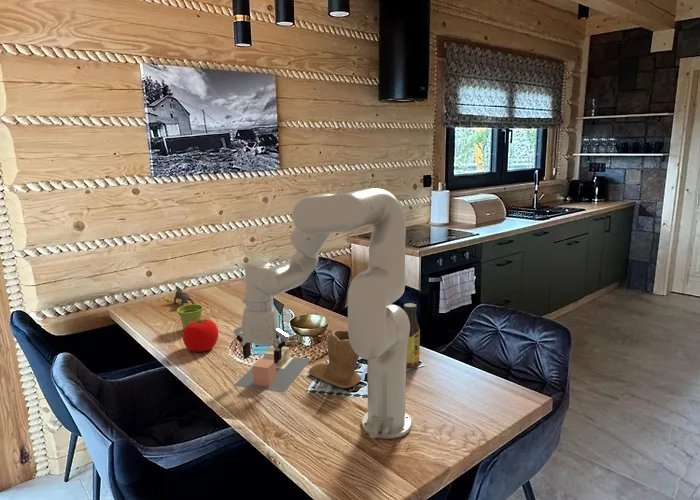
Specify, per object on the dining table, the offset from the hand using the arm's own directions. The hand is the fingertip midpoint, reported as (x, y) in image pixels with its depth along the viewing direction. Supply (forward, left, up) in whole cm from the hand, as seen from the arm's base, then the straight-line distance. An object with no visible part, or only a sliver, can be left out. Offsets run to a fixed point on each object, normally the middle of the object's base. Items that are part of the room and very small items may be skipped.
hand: (262, 359), depth 146 cm
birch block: (+13, +1, -7) cm, 15 cm away
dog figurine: (+56, +66, -8) cm, 86 cm away
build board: (+6, -1, -8) cm, 10 cm away
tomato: (+18, +32, -8) cm, 37 cm away
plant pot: (+32, +45, -8) cm, 56 cm away
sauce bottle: (+24, -40, -8) cm, 47 cm away
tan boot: (+9, -21, -8) cm, 24 cm away
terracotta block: (0, -1, -7) cm, 7 cm away
